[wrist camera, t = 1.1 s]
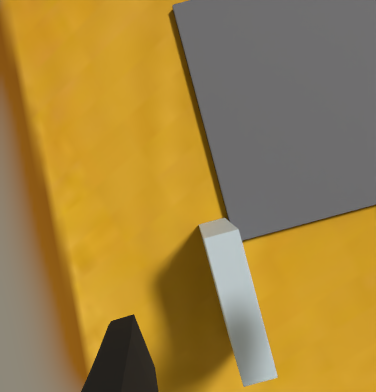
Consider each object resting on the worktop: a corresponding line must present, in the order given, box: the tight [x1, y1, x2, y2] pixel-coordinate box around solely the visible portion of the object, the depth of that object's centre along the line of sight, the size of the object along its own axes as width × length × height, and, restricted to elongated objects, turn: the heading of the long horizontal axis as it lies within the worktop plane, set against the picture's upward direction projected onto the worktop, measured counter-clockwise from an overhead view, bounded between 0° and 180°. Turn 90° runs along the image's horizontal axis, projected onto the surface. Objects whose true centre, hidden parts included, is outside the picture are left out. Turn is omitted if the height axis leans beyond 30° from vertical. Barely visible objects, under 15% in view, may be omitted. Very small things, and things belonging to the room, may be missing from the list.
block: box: [199, 218, 278, 386], centre depth 17 cm, size 7×2×5 cm, turn 15°
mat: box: [173, 0, 376, 240], centre depth 19 cm, size 14×12×1 cm
